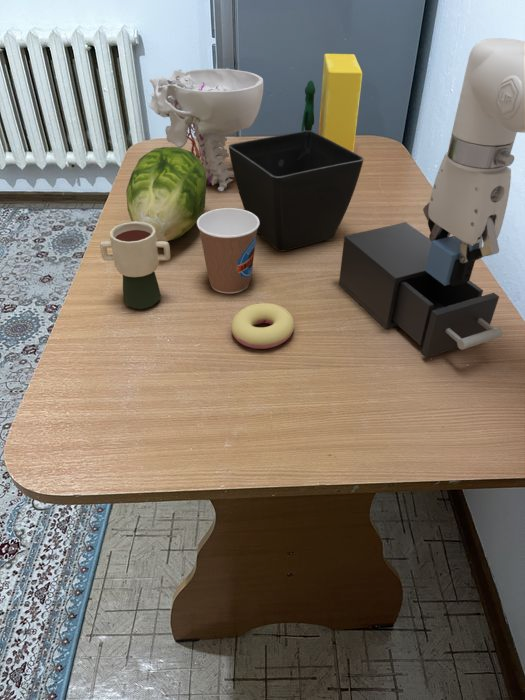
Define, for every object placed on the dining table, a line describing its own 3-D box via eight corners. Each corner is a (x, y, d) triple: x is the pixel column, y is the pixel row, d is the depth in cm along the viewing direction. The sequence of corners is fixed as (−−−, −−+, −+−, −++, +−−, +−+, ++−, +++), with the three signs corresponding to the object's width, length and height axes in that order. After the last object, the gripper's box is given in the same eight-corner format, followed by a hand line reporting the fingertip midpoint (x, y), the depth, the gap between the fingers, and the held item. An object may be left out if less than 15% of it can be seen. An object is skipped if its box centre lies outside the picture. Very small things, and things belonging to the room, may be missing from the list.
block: (469, 279, 82) (477, 248, 79) (444, 286, 81) (452, 255, 78) (448, 264, 86) (456, 234, 82) (424, 270, 84) (431, 240, 81)
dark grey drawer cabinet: (448, 311, 95) (461, 260, 89) (385, 329, 90) (395, 278, 84) (396, 269, 105) (405, 222, 99) (338, 284, 101) (344, 235, 94)
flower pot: (228, 223, 118) (226, 142, 108) (305, 205, 125) (310, 128, 115) (272, 264, 105) (275, 177, 95) (355, 242, 113) (366, 159, 102)
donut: (301, 345, 90) (264, 312, 95) (309, 323, 87) (271, 289, 92) (253, 363, 84) (217, 327, 89) (260, 340, 81) (222, 303, 86)
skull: (260, 167, 142) (262, 68, 128) (263, 199, 128) (265, 91, 113) (161, 167, 141) (150, 67, 127) (152, 199, 127) (139, 91, 112)
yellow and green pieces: (297, 152, 151) (303, 53, 136) (344, 153, 151) (354, 54, 135) (299, 178, 137) (305, 71, 122) (350, 179, 137) (362, 72, 122)
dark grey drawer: (505, 354, 84) (521, 312, 80) (444, 375, 81) (457, 332, 76) (430, 294, 97) (440, 254, 92) (374, 309, 93) (381, 269, 88)
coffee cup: (248, 304, 95) (248, 240, 88) (191, 293, 98) (186, 230, 90) (265, 273, 103) (267, 212, 95) (213, 264, 105) (210, 204, 98)
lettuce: (116, 265, 104) (102, 185, 95) (147, 203, 125) (138, 132, 115) (196, 269, 104) (190, 189, 94) (214, 206, 124) (211, 135, 115)
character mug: (176, 289, 99) (170, 221, 90) (173, 313, 93) (165, 242, 85) (114, 289, 98) (101, 221, 90) (106, 313, 93) (92, 242, 84)
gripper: (552, 169, 67) (508, 297, 78) (457, 126, 79) (431, 243, 90) (504, 179, 64) (465, 310, 76) (414, 133, 76) (392, 252, 88)
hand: (447, 272), depth 83 cm, fingers closed on block, 4 cm apart
